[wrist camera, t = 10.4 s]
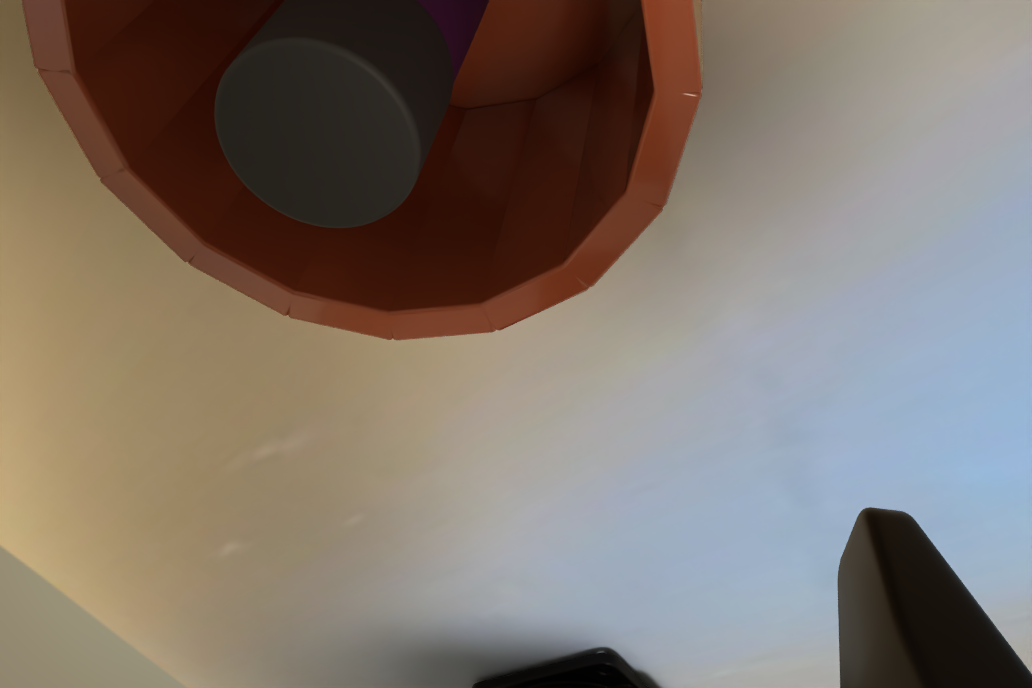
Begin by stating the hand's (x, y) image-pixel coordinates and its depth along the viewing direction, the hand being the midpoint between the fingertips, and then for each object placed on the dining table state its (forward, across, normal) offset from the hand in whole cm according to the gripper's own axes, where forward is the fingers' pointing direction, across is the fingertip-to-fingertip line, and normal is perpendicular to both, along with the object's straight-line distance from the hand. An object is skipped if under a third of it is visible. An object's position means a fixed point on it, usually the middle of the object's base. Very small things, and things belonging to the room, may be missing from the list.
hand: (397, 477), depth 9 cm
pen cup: (+12, +2, -2) cm, 13 cm away
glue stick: (+12, +2, -2) cm, 12 cm away
